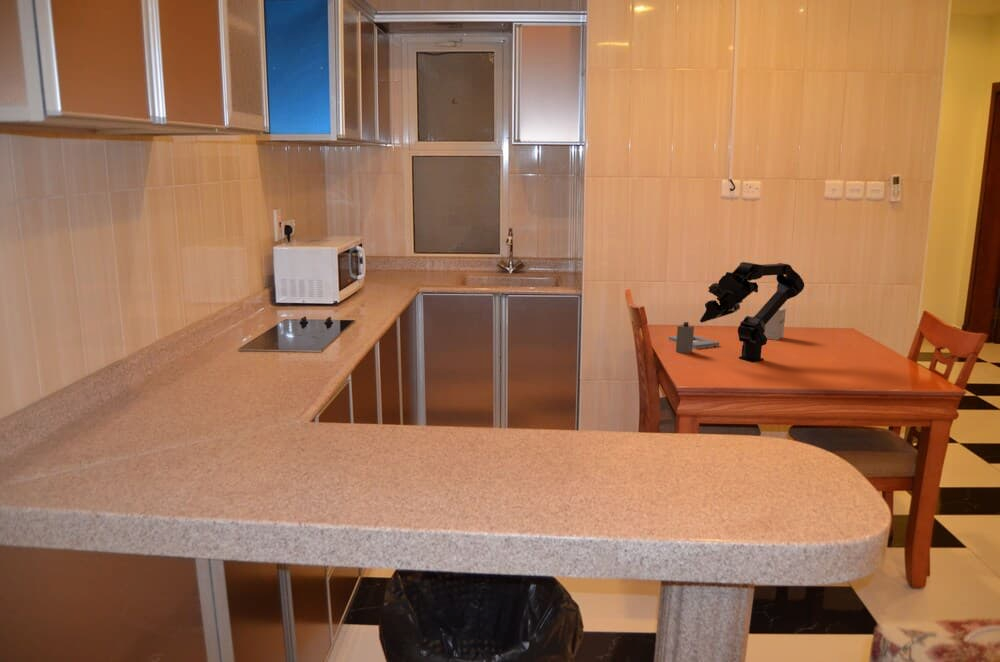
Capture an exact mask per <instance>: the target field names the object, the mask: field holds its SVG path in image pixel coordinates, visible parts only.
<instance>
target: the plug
mask: <svg viewBox="0 0 1000 662" xmlns="http://www.w3.org/2000/svg"><path fill="white" fill-rule="evenodd" d="M689 323H690V322H689V321H683V324H680V325H677V329H676V332H677V333H676V336H677V342H676V343H675V344H676V345H675V353H679V354H684V355H687V354H690V353H693V348H692V347H693V335H695V334H694V332H695V331H694V329H695V326H693V325H690V324H689Z"/></svg>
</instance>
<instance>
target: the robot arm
mask: <svg viewBox="0 0 1000 662" xmlns="http://www.w3.org/2000/svg"><path fill="white" fill-rule="evenodd" d="M766 276H776V278H775V279H776V282H777V286H776V290H775V291H776V292H775V293H774V294H773V295H772V296H770V298H769V299H768V300H767V301H766V302H765V304H763V306H762V307H761V308H760V310H758V311H757V313H756V314H754V316H749V315H746V316H745V317H744V319H743V320H742V321H741V322H740V325H738V327H737V335H738V339H739V340H738V341H739V342H742V345H741V355H740V356H738V358H739V359H741V360H745V361H747V362H759V361H764V360H765V358H763V357H762V350H763V349H762V348H763V346H765V345H766V344H767V343H768V339H767V338H766V336H765V335H764V332H765V325H766V324H767V322H768V321H769V320H770V319H771V318H772V317H773V316H774V314H775V313H776V312H777V311H778V310H779V309H780V308H782V306H783V305H784V304H785V303H786V302H787V301H788V300H790V299H792V298H794V297H796V296H798V295H799V294H800V293H801V292H802V291H803V290H804V288H805V282H804V280H803V278H802V276H801V275H800V274H799V273H798V272H796V271H795V270H794V269H793V267H792V266H791V265H790V264H789V263H784V262H783V263H782V262H781V263H780V262H779V263H770V264H769V263H768V264H767V263H766V264H759V263H754V262H753V263H752V262H747V261H746V262H745V261H741V262H740V263H739V265H738V266H737V267H736V268H735V269H734V270H733V271H732V272H729V271H726V272H725V274H724V275H723V276H721V277H720V278H719V280H718V282H714V283H712V284H710V285H709V286H708V290H707V291H708V293H710V294H712V295H714V296H715V297H716V300H717V301H716V300H715V299H714V300H713V299H712V300H708V301H706V303H704V307H705V312H704V313H703V315H702V317H701V318H700V319H699V322H700V323H701V324H702V323H705V322H708V321H711V320H715V319H719V318H721V317H726V316H728V315H732V314H734V313H737V312H738V311H739V310H740V309H741V305H740V304H741V303H743V302H744V300H745V299H746V298H747V297H749V296H750V295H751V294H752V293H753V292H754V293H757V294H758V292H759V285H758V283H757V282H756V280H759V279H761V278H762V277H766ZM752 280H753V281H755V282H752Z"/></svg>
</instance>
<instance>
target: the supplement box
mask: <svg viewBox="0 0 1000 662" xmlns="http://www.w3.org/2000/svg"><path fill="white" fill-rule="evenodd" d="M786 310H787V308H786V307H781V308H780V309H779V310H778V311H777V312H776V313H775V314H774V316H773V317H772V318H771V319H770V320H769V321H768V322H767V324H766V325H765V332H764V335H765V336H766V338H767V340H772V339H774V341H779V340H781V339H783V338H784V331H785V323H786V322H785V321H786V313H787V312H786ZM782 337H783V338H782Z"/></svg>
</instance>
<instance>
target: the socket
mask: <svg viewBox="0 0 1000 662" xmlns="http://www.w3.org/2000/svg"><path fill="white" fill-rule="evenodd" d="M668 341H670V342H673V343H675V344H676V342H677V335H673V336H668ZM714 346H716V347H720V342H718V341H716V340H712V339H709V338H705V337H702V336H699V335H695V334H693V347H692V349H695V350H697V349H706V347H708V348H715V347H714Z"/></svg>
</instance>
